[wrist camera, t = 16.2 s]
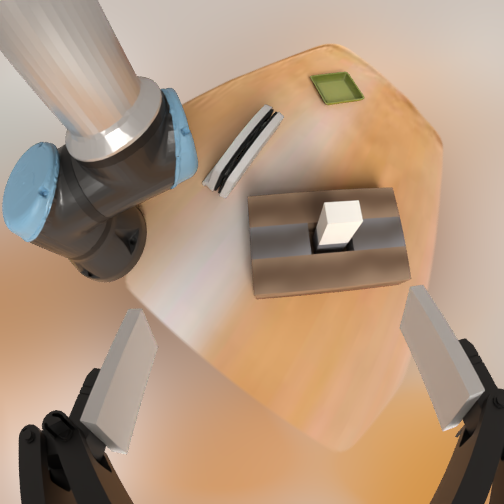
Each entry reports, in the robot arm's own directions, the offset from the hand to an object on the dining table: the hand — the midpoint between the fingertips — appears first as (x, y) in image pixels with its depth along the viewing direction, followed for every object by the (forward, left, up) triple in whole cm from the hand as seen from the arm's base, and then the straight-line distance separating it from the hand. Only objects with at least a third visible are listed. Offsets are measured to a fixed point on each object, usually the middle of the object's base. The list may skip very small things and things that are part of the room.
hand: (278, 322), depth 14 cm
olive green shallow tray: (-30, +36, -30) cm, 56 cm away
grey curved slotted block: (-26, +12, -30) cm, 41 cm away
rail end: (-6, +13, -29) cm, 32 cm away
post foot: (-6, +13, -30) cm, 33 cm away
